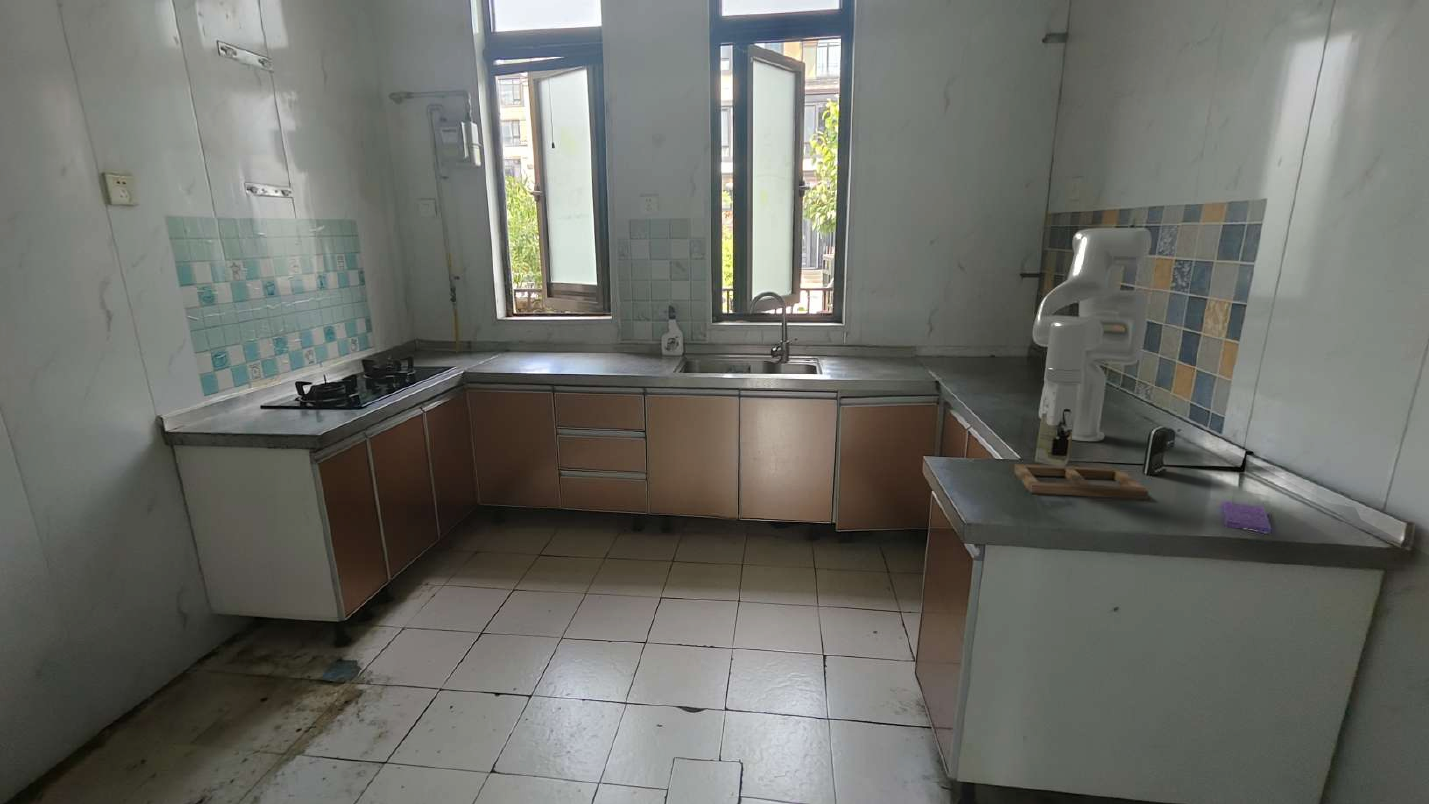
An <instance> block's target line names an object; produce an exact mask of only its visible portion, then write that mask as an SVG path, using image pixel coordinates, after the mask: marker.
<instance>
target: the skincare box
mask: <svg viewBox="0 0 1429 804" xmlns="http://www.w3.org/2000/svg"><path fill="white" fill-rule="evenodd" d="M1045 417H1046V413H1045V412H1042V418H1040V424H1039V430H1038V431H1039V432H1038V437H1037V443H1036V450H1035V457H1034V458H1035V459H1034V462H1036V463H1041V464H1043V465H1050V466H1058V467H1064V466H1067V464H1068V462H1069V457H1070V456H1069V455H1070V450H1071V444H1072V433H1073V430H1072V431H1071V434H1070V439H1069V444H1068V451H1067V455H1066V456H1053V455H1052V454H1051V450H1052V443H1053V438H1055V425H1054V427H1051V426H1049V425H1048V424H1047V423H1046V422H1045ZM1058 425H1064V423H1059V424H1058ZM1073 427H1074V425H1073ZM1061 430H1064V429H1059V433H1060V431H1061Z"/></svg>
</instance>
